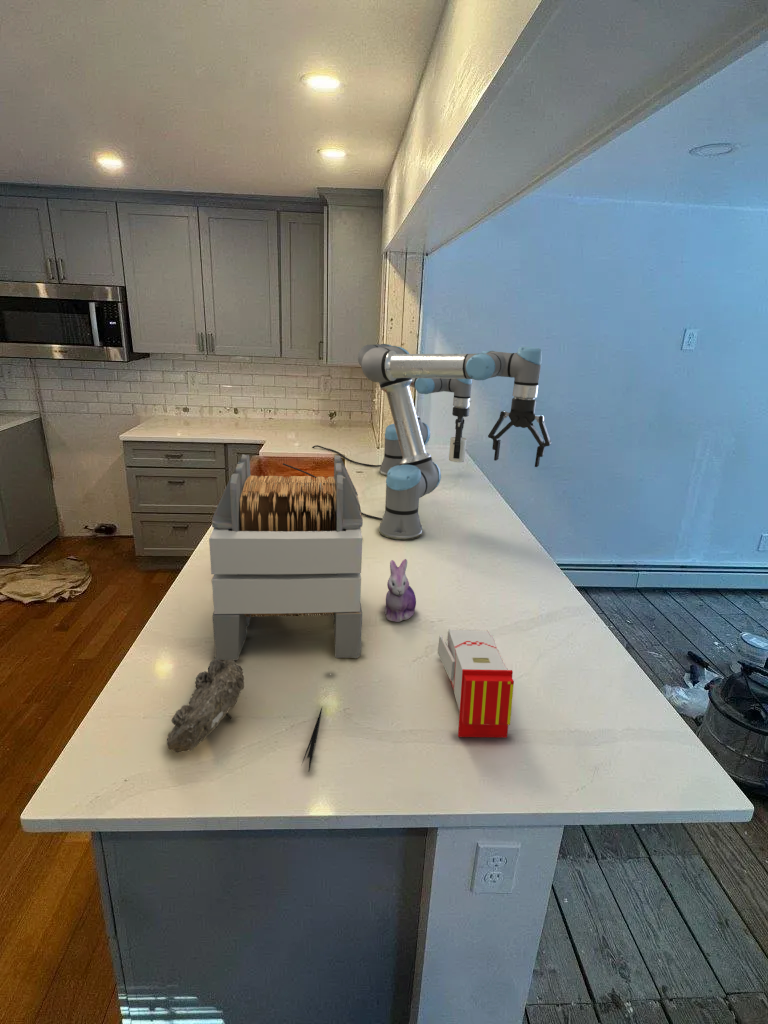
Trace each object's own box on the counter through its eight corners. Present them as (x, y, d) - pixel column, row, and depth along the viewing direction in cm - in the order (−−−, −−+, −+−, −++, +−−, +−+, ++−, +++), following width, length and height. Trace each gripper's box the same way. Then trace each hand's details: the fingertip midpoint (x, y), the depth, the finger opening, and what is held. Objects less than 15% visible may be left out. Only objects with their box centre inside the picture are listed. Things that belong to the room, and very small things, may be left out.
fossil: (192, 660, 117) (244, 628, 112) (224, 691, 120) (276, 661, 115) (142, 746, 98) (202, 712, 93) (182, 779, 101) (242, 748, 96)
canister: (465, 462, 261) (467, 440, 258) (449, 461, 261) (450, 439, 258) (464, 458, 268) (466, 437, 264) (448, 457, 268) (450, 436, 265)
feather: (331, 679, 122) (336, 673, 122) (307, 777, 96) (313, 769, 95) (324, 675, 122) (329, 669, 121) (298, 772, 95) (304, 764, 95)
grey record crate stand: (234, 590, 156) (226, 444, 142) (353, 588, 159) (357, 447, 146) (212, 662, 124) (200, 485, 110) (361, 659, 128) (367, 486, 114)
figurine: (392, 627, 141) (395, 572, 136) (374, 608, 149) (376, 556, 144) (425, 619, 145) (429, 566, 140) (405, 601, 154) (408, 550, 149)
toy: (488, 613, 130) (523, 677, 101) (484, 667, 133) (517, 744, 104) (435, 612, 130) (455, 676, 101) (432, 666, 133) (451, 743, 103)
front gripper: (566, 400, 178) (556, 466, 185) (489, 392, 188) (483, 454, 195) (562, 403, 171) (552, 471, 179) (482, 395, 182) (476, 459, 189)
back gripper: (468, 411, 246) (463, 462, 254) (470, 404, 265) (466, 452, 273) (451, 409, 247) (447, 460, 255) (454, 403, 266) (450, 450, 274)
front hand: (516, 462), depth 187 cm, fingers open, 13 cm apart
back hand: (456, 456), depth 264 cm, fingers closed on canister, 7 cm apart
